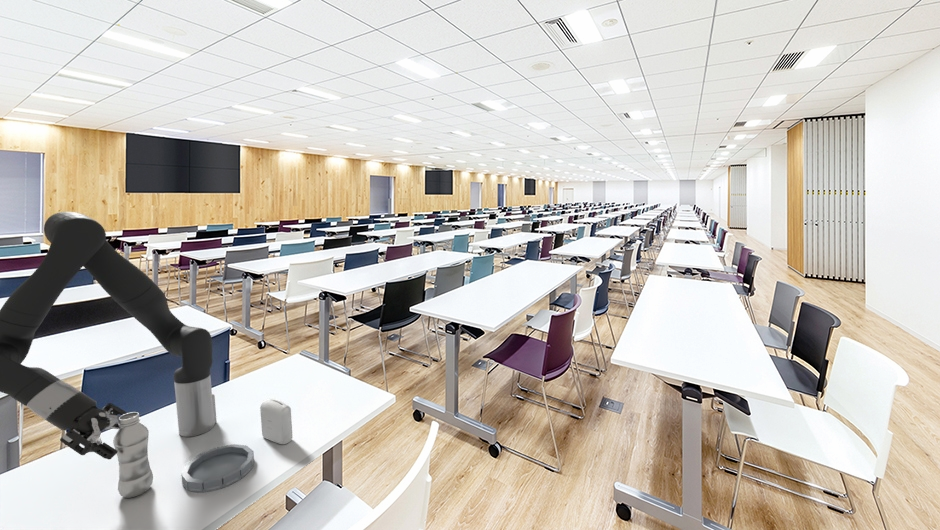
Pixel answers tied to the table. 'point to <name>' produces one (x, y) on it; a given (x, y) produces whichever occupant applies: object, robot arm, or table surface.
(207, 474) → the round tray
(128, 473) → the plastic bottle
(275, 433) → the photo printer
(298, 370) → the table surface
